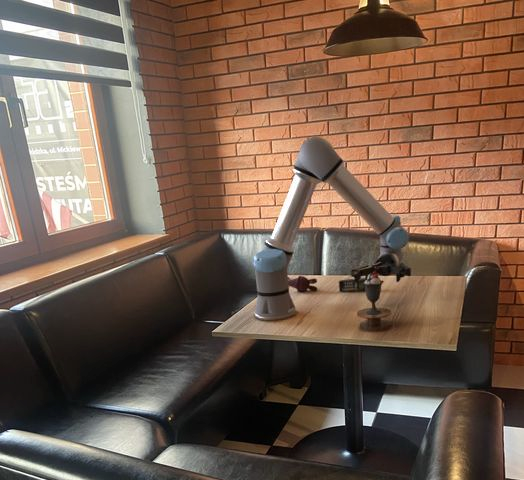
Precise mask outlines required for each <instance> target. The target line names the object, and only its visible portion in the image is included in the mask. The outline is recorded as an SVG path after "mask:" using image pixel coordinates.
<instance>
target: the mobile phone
mask: <svg viewBox="0 0 524 480" xmlns="http://www.w3.org/2000/svg"><path fill="white" fill-rule="evenodd" d="M364 281H365V277H361V278H360V280H359V281H358V282H355V278H348V279H340V280H339V281H338V288H339V290H338V291H339V292H340V293H341V292H342V293H343V292H345V293H346V292H363V291H366V290H365V285H363V283H362V282H364Z"/></svg>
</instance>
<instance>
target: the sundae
mask: <svg viewBox="0 0 524 480" xmlns="http://www.w3.org/2000/svg"><path fill="white" fill-rule="evenodd" d="M376 269H379V268H378V267H377V268H376ZM364 278H365V281H364V282H362V283H363V285H365V290H364V291H365V295H366V299H367V301H369V302H370V303H371V307H370V308H371V310H369V311H367V312H366V313H367V314H369V315H376V314H380V313H381V312H382V311H380V310H377V309H376V308H377V307H376V302H378V301H379V299H380V297H381V292H382V285H383V284H384V282H385V281H384V280H381V278H380V277H379V274H376V271H374V272H373V273H371V274H369V275H365V276H364Z"/></svg>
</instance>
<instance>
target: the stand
mask: <svg viewBox="0 0 524 480" xmlns="http://www.w3.org/2000/svg"><path fill="white" fill-rule="evenodd" d="M371 308H372V307H366V308H361V309H360V310H358V311H357V312H356V316H357V317H358V318H361V319H365V320H362V321H360V322H359V324H358V326H359V327H358V328H359V330H360V331H363V332H369V333H372V332H373V333H376V332H383V331H386V330H388V329H389V328H390V321H388V320H386V319H384V318H388V317H389V316H391V315H392V310H391V309H389V308H386V307H376V309H377V310H380V311H382V312H381V313H380V314H376V315H369V314H367V313H366V312H367V311H369V310H371Z"/></svg>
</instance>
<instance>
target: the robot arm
mask: <svg viewBox="0 0 524 480" xmlns="http://www.w3.org/2000/svg"><path fill="white" fill-rule="evenodd" d="M292 171H293V174H294V177H293V179H292V182H291V185H290V187H289V190H288V193H287V195H286V198H285V201H284V203H283V205H282V208H281V210H280V213H279V215H278V219H277V222H276V224H275V226H274V229H273V231H272V234H271V236H270V237H269V238H266V239H265V241H264V243H263V247H262V248H261V250H260V251H258V252H257V253H255V254H254V256H253V266H254V272H255V280H256V281H255V282H256V293H257V299H256V303H255V308H254V317H255V318H256V320H260V321H265V322H268V321H269V322H271V321H272V322H274V321H282V320H286V319H290V318H292V317H293V316H295V315H296V314H297V309H296V306H295V303H294V301H293V299H292V297H291V293H290V286H289V285H288V281H289V280H291V278H290V277H289V275H288V268H289V265H290V262H291V260H292V257H293V255H294V253H295V249H294V247H293V245H294V242H295V240H296V238H297V235H298V232H299V230H300V227H301V225H302V222H303V219H304V217H305V215H306V213H307V209H308V207H309V205H310V202H311V200H312V197H313V195H314V192H315V190H316V188H317V185H318V184H320V183H323V184H328V185H329V186H330V187H331V188H332V189H333V190H334V191H335V192H336V193H337V194H338V195H339V197H341V199H343V200H344V201H345V203H347V204H348V205H349V206H350V208H352V209H353V211H354V212H355V213H357V214H358V215H359V217H360V218H361V219H362V220H363V221H364V222H365V223H366V224H367V225H368V226H369V227H370V228H371V229H372V230H373V231H374V232H375V233H376V234H377V236H379V240H380V241H379V243H380V244H379V247H380V253H379V254H380V255H379V256H378V257H377V259H376V260H375V261H374V263H373V264H371V265H369V263H364V264H363V265H360V266H357V267H355V268H352V269H350V277H351V278H353V279H355V282H358V281H359V280H360V278H362V277H365V275H369V274H371V273H373V272H374V271H376V274H377V275H378V276H382V277H388V276H391V275H395V281H396V283H399V282H400V280H401V279H403V278H405V277H406V276H407V277H411V276H412V268H411V267H410V266H407V265H406V264H405V263H404V262H402V260H403V251H402V249H404V248H405V247H407V245H408V244H409V239H410V235H409V232H408V231H407V229H406V228H404V227H403V225H402V222H401V217H400V215H397V214H390V212H389V211H388V210H387V209H386V208H385V206H383V205H382V204H381V203H380V201H378V200H377V199H376V198H375V197H374V196H373V194H371V192H370V191H368V189H367V188H366V187H365V186H364V185H363V184H362V183H361V182H360V181H359V180H358V179H357V178H356V177H355V176H354V175H353V174H352V173H351V171H350V170H349V169H348V168H347V167H346V166H345V160H344V159H343V158H342V157H341V156H340V155H339V154H338V153H337V151H336V149H334V147H333V145H332V144H331V142H330V141H329V140H328V139H326V138H324V137H322V136H311V137H309V138H308V139H306V140H305V141H304V142H303V143H302V144H301V146H300V147H299V152H298V155H297V157H296V160H295V163H294V165H293V167H292ZM377 267H378V268H379V269H376V268H377Z"/></svg>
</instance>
